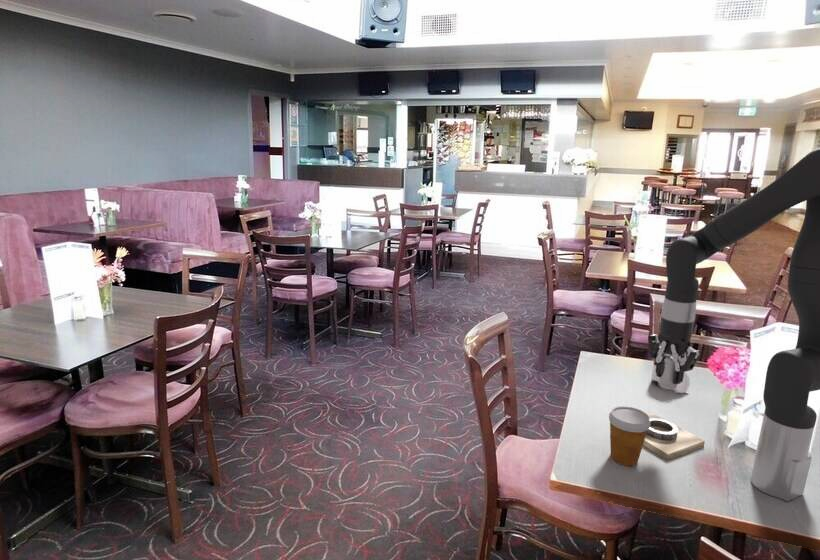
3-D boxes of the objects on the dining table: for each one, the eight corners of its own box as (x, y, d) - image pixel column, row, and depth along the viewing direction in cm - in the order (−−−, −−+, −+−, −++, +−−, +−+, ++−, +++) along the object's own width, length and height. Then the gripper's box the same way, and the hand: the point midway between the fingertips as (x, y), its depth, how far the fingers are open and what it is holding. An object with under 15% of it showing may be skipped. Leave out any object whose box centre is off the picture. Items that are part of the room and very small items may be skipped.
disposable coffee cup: (647, 455, 134) (653, 411, 131) (641, 474, 126) (648, 429, 123) (607, 444, 139) (613, 401, 136) (599, 462, 131) (605, 417, 128)
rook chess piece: (679, 390, 136) (683, 361, 134) (660, 388, 137) (664, 359, 135) (674, 383, 140) (678, 354, 138) (656, 381, 141) (660, 353, 139)
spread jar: (657, 374, 181) (662, 342, 178) (693, 384, 174) (699, 351, 171) (645, 386, 172) (650, 352, 169) (683, 397, 165) (689, 362, 162)
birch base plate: (704, 446, 139) (704, 440, 138) (667, 459, 133) (668, 454, 132) (651, 417, 153) (652, 412, 152) (616, 428, 146) (616, 423, 146)
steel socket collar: (683, 436, 141) (684, 429, 140) (662, 443, 137) (663, 437, 136) (657, 421, 148) (658, 415, 147) (636, 428, 144) (637, 422, 143)
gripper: (714, 323, 129) (703, 388, 134) (663, 306, 142) (654, 366, 146) (694, 327, 126) (683, 394, 130) (643, 310, 138) (635, 371, 143)
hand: (668, 379), depth 138 cm, fingers closed on rook chess piece, 4 cm apart
